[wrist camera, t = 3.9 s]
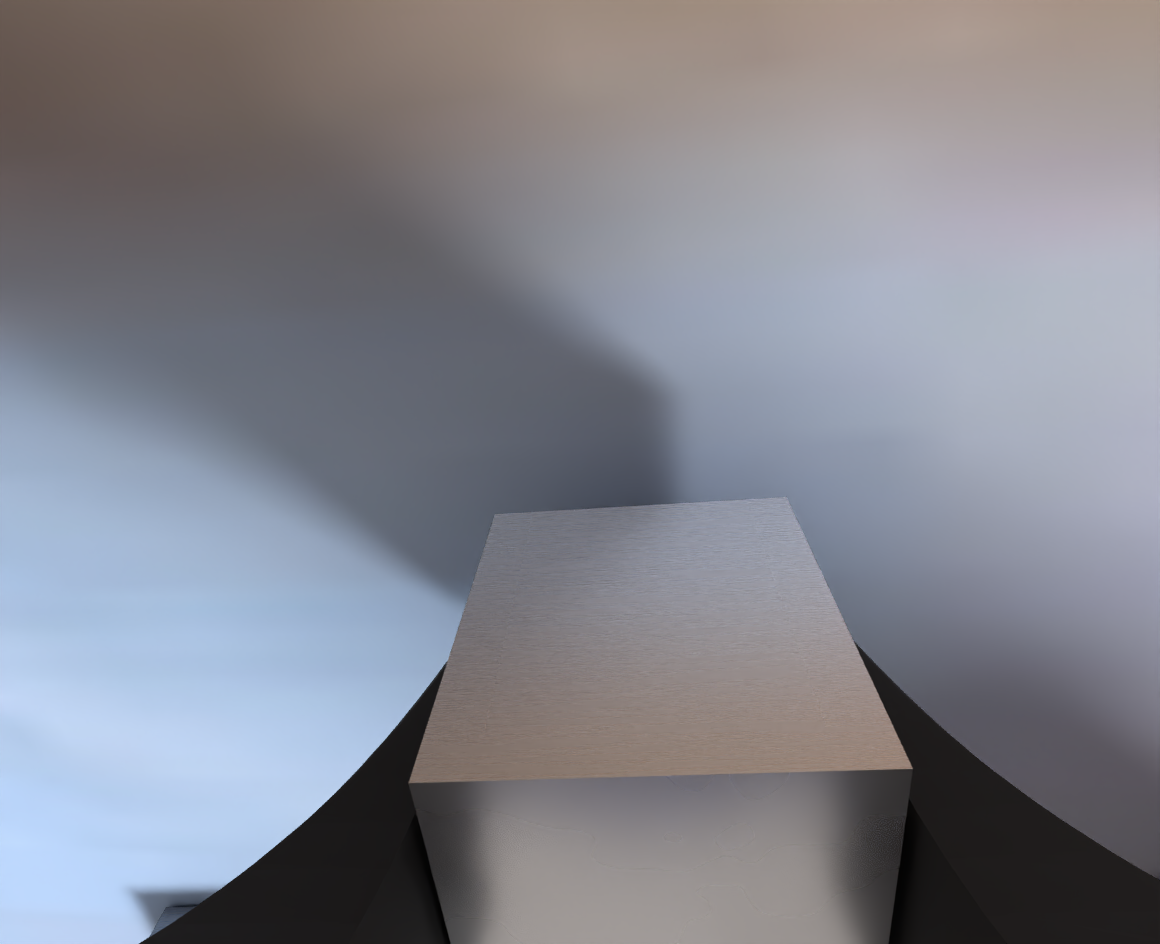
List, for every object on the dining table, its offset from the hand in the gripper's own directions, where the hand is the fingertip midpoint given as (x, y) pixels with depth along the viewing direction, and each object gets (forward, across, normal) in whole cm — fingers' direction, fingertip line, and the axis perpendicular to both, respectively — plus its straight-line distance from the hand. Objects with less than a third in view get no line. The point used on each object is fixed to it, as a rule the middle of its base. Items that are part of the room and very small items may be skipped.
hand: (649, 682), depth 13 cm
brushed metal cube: (+2, 0, 0) cm, 2 cm away
